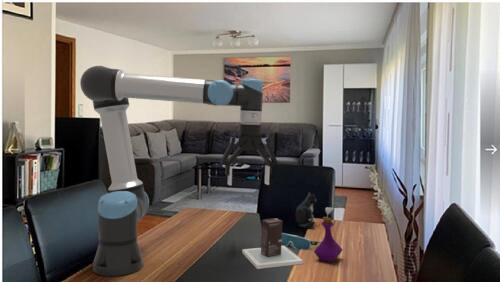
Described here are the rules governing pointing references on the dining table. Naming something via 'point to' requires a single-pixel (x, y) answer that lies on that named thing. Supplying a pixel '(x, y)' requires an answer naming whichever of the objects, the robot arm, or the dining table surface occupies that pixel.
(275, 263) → the picture frame
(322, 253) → the perfume bottle
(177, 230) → the dining table surface
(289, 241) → the sunglasses
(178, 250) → the dining table surface
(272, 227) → the box
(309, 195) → the figurine
